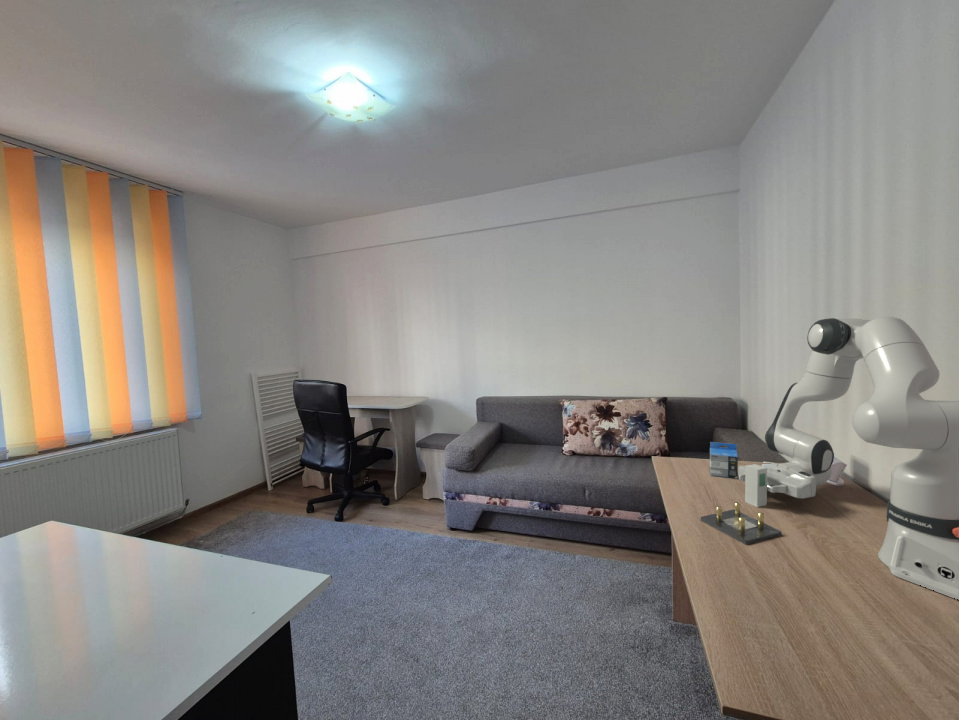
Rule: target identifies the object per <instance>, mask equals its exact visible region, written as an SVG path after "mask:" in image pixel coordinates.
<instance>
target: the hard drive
mask: <svg viewBox="0 0 959 720" xmlns="http://www.w3.org/2000/svg"><path fill="white" fill-rule="evenodd" d="M762 463H771V464H761V465H760V466H762V467H765V468H768V469H771V467H772V466H774V465H776V464H778V463H776V462H771V461H763V462H762Z"/></svg>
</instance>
